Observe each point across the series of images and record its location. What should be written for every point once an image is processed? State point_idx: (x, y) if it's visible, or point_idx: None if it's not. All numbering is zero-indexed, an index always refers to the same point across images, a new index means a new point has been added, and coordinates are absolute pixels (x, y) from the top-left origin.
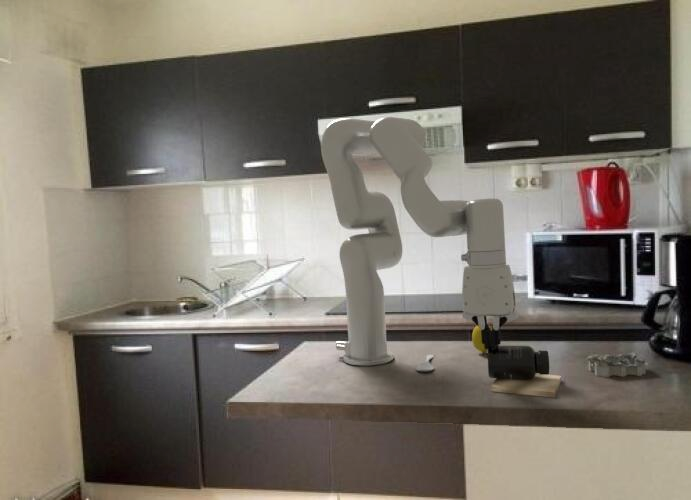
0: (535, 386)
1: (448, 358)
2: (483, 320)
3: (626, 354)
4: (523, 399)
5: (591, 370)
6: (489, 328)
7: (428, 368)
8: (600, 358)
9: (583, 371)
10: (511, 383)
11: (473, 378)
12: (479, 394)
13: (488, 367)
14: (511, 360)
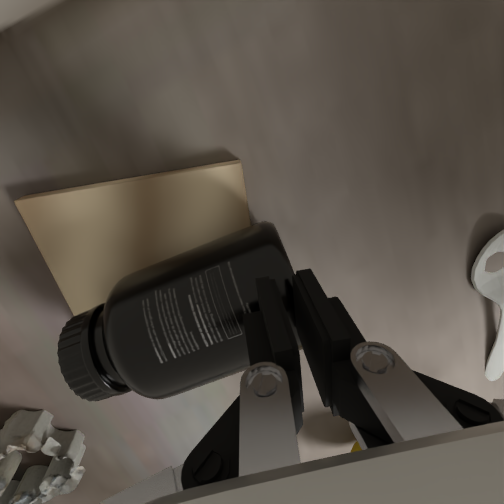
0: (104, 232)
1: (444, 373)
2: (386, 410)
3: None
4: (101, 126)
5: (73, 432)
6: (327, 396)
7: (487, 277)
8: (53, 479)
9: (90, 422)
10: (189, 225)
11: (335, 256)
12: (263, 106)
13: (272, 224)
14: (182, 274)
